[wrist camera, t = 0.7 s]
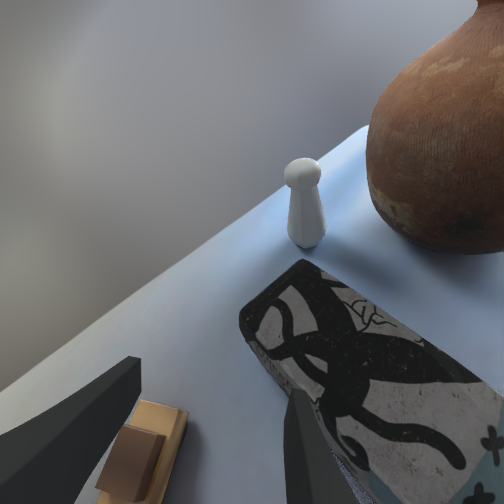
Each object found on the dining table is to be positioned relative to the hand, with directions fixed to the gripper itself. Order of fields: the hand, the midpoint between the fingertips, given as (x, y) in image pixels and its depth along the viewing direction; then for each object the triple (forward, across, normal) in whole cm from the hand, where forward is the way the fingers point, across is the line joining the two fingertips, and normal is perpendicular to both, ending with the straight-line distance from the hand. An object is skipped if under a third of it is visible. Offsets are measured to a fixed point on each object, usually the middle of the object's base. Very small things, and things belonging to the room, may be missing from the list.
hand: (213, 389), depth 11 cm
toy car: (+11, -13, +10) cm, 20 cm away
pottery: (+29, -26, -7) cm, 39 cm away
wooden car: (+7, +6, +19) cm, 21 cm away
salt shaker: (+29, -7, -1) cm, 30 cm away
